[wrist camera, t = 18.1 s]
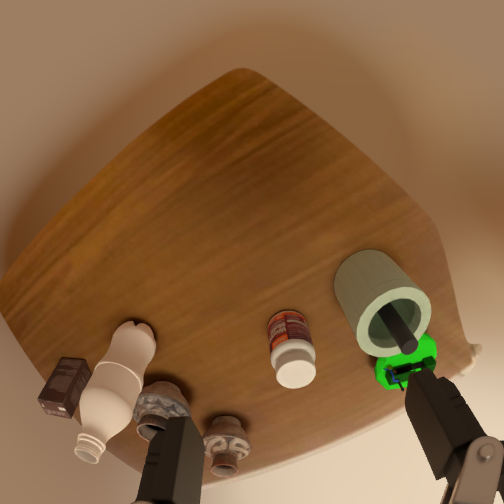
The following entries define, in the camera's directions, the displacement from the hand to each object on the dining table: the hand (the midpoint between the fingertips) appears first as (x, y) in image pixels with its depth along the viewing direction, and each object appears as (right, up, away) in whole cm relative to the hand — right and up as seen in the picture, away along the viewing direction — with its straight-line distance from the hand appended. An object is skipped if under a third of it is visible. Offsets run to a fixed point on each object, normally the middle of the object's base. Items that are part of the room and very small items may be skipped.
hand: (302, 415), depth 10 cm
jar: (+15, +1, +36) cm, 39 cm away
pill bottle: (+4, -6, +39) cm, 40 cm away
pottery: (-13, -24, +46) cm, 54 cm away
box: (-36, -16, +43) cm, 58 cm away
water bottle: (-20, -8, +40) cm, 45 cm away
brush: (+15, +1, +36) cm, 39 cm away
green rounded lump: (+24, -11, +42) cm, 49 cm away
